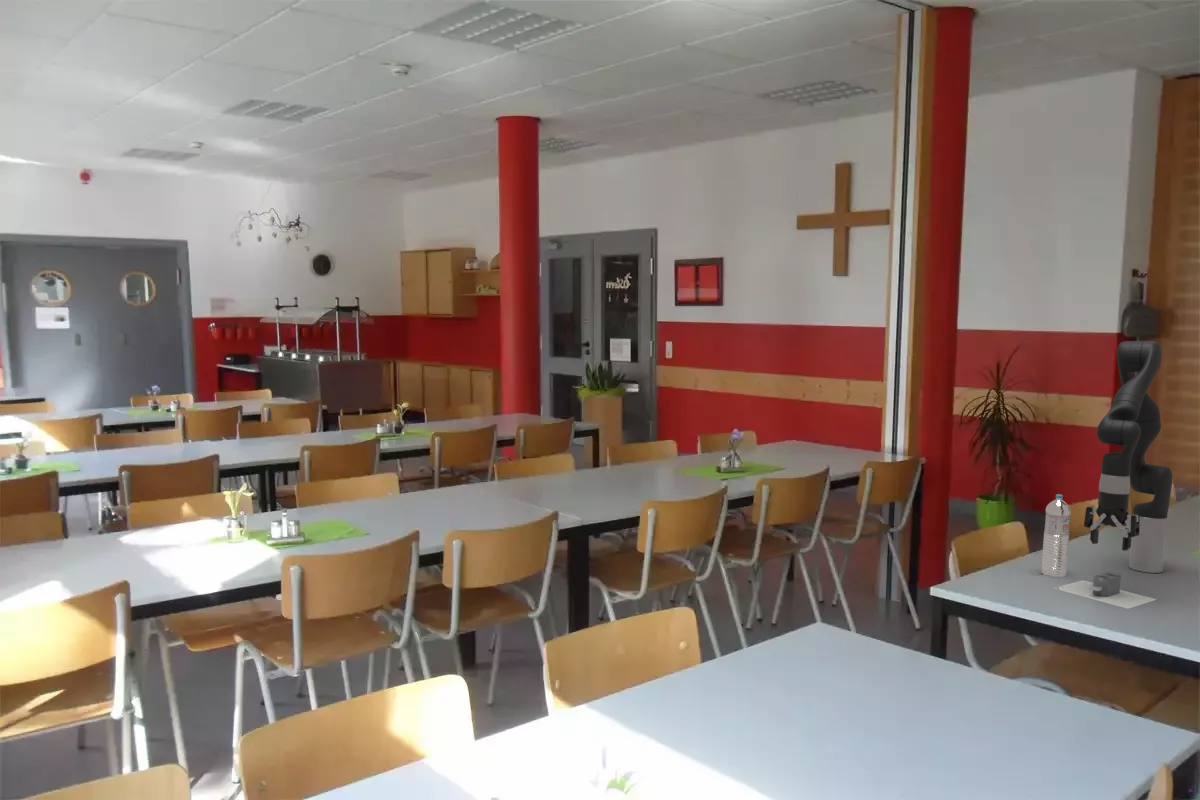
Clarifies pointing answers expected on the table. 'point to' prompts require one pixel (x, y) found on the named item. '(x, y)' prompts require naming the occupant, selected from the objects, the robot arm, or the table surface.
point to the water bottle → (1056, 538)
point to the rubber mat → (1121, 599)
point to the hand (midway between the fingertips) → (1109, 546)
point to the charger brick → (1106, 584)
